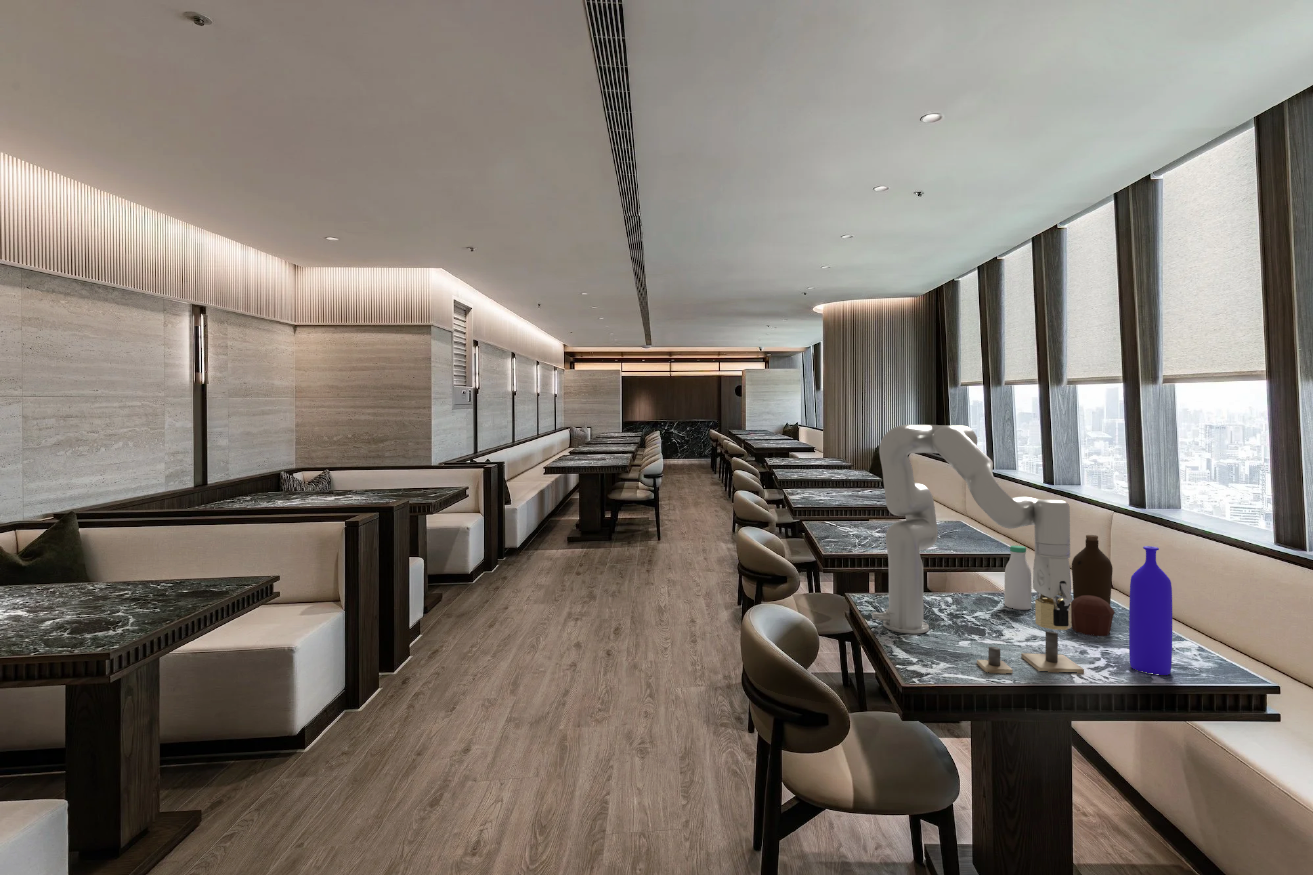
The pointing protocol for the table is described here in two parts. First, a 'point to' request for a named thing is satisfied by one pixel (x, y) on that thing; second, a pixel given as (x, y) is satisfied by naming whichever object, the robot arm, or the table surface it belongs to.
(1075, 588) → the olive oil
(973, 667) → the table surface
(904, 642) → the table surface
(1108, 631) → the muffin
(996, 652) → the short post
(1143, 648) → the bottle
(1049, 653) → the post stand
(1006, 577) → the milk bottle
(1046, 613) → the brass ring
